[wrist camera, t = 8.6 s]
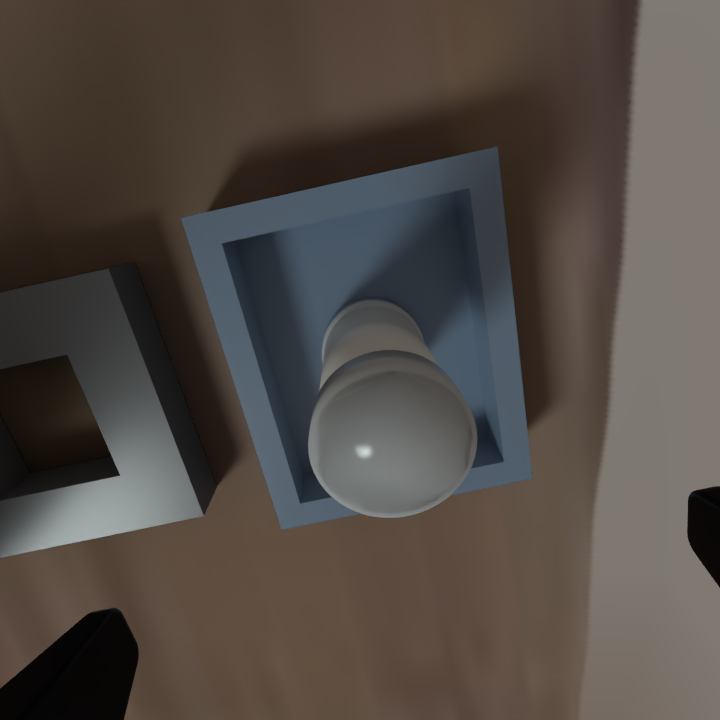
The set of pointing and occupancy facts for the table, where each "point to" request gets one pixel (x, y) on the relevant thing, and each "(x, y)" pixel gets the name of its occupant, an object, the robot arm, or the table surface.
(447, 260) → the parts tray
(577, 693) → the table surface
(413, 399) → the grey rounded piece
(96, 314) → the grey flat square frame
